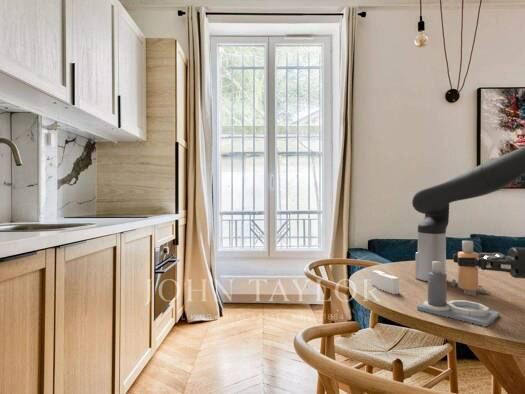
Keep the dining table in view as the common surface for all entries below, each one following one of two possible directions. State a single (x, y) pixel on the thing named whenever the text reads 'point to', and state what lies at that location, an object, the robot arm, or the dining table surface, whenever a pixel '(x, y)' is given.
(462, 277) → the orange lotion bottle
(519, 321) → the dining table surface
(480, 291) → the clamp
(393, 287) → the white stepped block
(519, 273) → the robot arm
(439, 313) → the bottle holder tray
